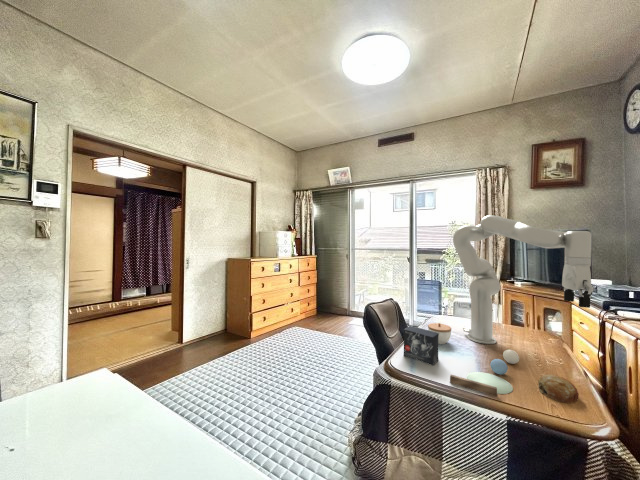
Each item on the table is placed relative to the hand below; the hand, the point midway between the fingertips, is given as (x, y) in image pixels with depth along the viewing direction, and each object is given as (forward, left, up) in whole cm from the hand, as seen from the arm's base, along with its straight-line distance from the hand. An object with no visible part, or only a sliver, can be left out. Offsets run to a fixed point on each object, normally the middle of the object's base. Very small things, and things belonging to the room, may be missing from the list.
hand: (576, 304), depth 105 cm
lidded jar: (-48, -17, -26) cm, 57 cm away
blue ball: (-18, -29, -23) cm, 41 cm away
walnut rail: (-20, -48, -26) cm, 58 cm away
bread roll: (-1, -29, -26) cm, 39 cm away
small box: (-44, -41, -26) cm, 65 cm away
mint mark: (-18, -39, -26) cm, 50 cm away
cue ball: (-18, -15, -23) cm, 33 cm away
